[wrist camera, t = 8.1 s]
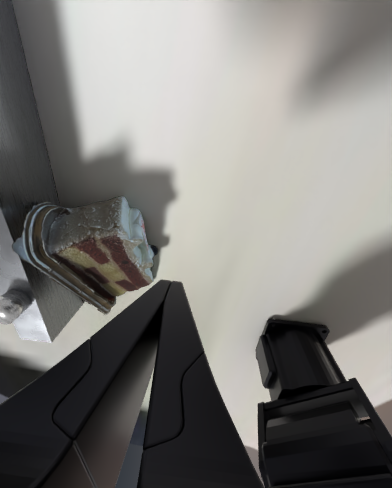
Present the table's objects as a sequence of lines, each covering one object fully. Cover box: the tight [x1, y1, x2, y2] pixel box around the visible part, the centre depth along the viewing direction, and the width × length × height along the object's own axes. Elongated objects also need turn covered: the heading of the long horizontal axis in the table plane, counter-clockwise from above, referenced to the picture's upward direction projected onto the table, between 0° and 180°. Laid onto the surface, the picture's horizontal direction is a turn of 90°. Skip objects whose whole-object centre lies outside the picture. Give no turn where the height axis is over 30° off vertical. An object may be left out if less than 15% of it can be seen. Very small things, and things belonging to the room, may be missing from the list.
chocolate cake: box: [12, 196, 158, 315], centre depth 17 cm, size 10×7×12 cm
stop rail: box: [0, 0, 83, 343], centre depth 14 cm, size 3×26×7 cm, turn 175°
